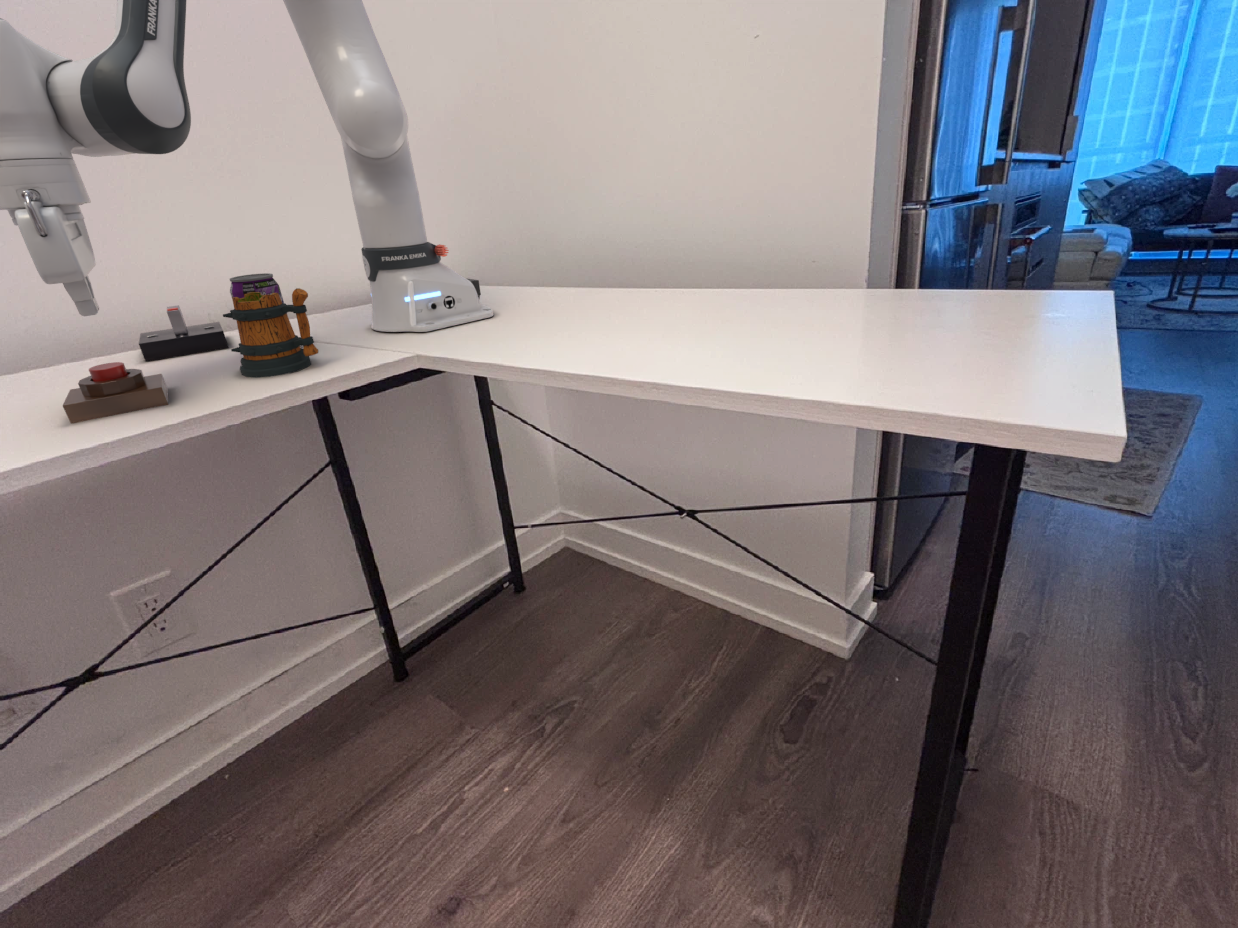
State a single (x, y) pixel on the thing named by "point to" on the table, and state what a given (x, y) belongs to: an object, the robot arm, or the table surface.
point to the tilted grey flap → (177, 320)
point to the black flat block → (182, 341)
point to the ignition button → (108, 371)
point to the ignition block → (115, 396)
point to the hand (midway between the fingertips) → (91, 314)
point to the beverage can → (254, 285)
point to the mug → (271, 334)
